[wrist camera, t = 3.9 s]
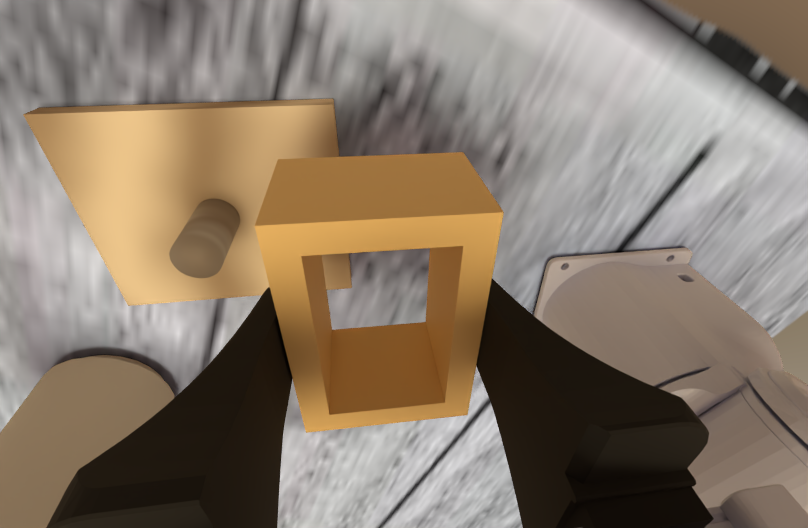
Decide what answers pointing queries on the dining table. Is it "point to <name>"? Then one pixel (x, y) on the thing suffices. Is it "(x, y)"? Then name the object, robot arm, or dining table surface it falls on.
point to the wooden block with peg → (183, 188)
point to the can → (70, 430)
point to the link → (367, 232)
